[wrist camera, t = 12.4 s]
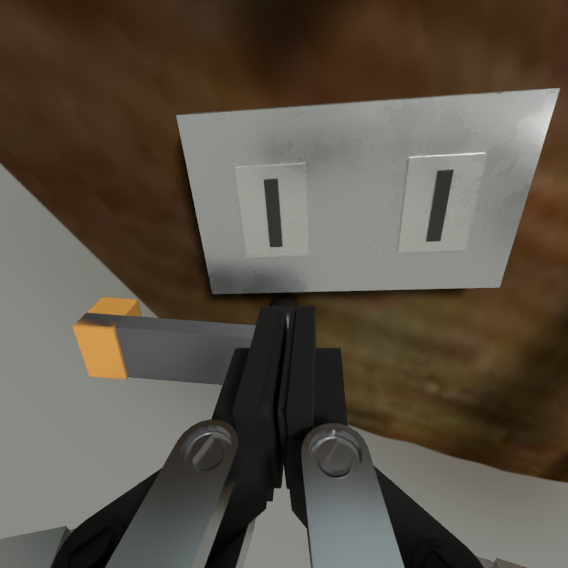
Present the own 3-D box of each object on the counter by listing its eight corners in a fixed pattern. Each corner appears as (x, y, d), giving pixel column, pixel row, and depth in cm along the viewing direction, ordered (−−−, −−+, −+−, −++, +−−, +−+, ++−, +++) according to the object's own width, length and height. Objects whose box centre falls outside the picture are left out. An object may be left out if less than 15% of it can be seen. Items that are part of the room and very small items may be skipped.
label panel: (530, 89, 22) (563, 88, 20) (482, 270, 29) (501, 289, 26) (190, 113, 24) (174, 115, 22) (220, 277, 31) (211, 296, 28)
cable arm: (306, 312, 27) (307, 349, 23) (302, 358, 29) (301, 398, 25) (102, 297, 27) (68, 330, 23) (114, 343, 30) (86, 381, 26)
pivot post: (296, 291, 32) (294, 332, 26) (297, 312, 33) (295, 354, 27) (271, 292, 32) (264, 332, 26) (273, 312, 33) (266, 354, 28)
